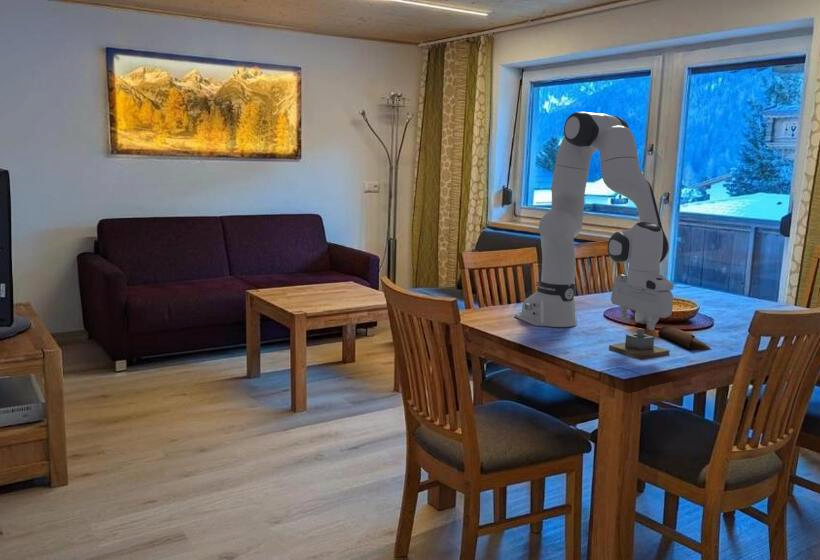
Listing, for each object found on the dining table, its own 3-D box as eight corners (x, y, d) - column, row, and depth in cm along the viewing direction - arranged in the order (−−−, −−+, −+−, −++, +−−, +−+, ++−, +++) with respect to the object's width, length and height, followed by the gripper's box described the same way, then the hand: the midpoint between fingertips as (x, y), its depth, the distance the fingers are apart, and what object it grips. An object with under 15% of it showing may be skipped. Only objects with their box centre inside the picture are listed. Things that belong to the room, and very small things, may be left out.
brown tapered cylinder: (714, 349, 215) (706, 331, 213) (695, 362, 214) (687, 343, 213) (680, 335, 232) (672, 318, 231) (662, 346, 232) (654, 329, 230)
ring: (625, 346, 211) (626, 334, 211) (638, 344, 214) (639, 332, 214) (639, 351, 207) (640, 338, 206) (653, 348, 210) (654, 336, 209)
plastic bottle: (632, 324, 246) (637, 267, 243) (636, 321, 252) (640, 264, 249) (651, 327, 243) (657, 268, 240) (655, 323, 249) (660, 266, 246)
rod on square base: (608, 349, 213) (610, 326, 211) (636, 344, 219) (638, 322, 218) (640, 359, 202) (642, 335, 201) (669, 354, 209) (671, 331, 208)
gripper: (608, 273, 214) (604, 318, 217) (663, 286, 197) (657, 335, 199) (623, 272, 217) (619, 317, 220) (678, 285, 200) (673, 333, 203)
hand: (637, 325), depth 209 cm, fingers open, 8 cm apart
